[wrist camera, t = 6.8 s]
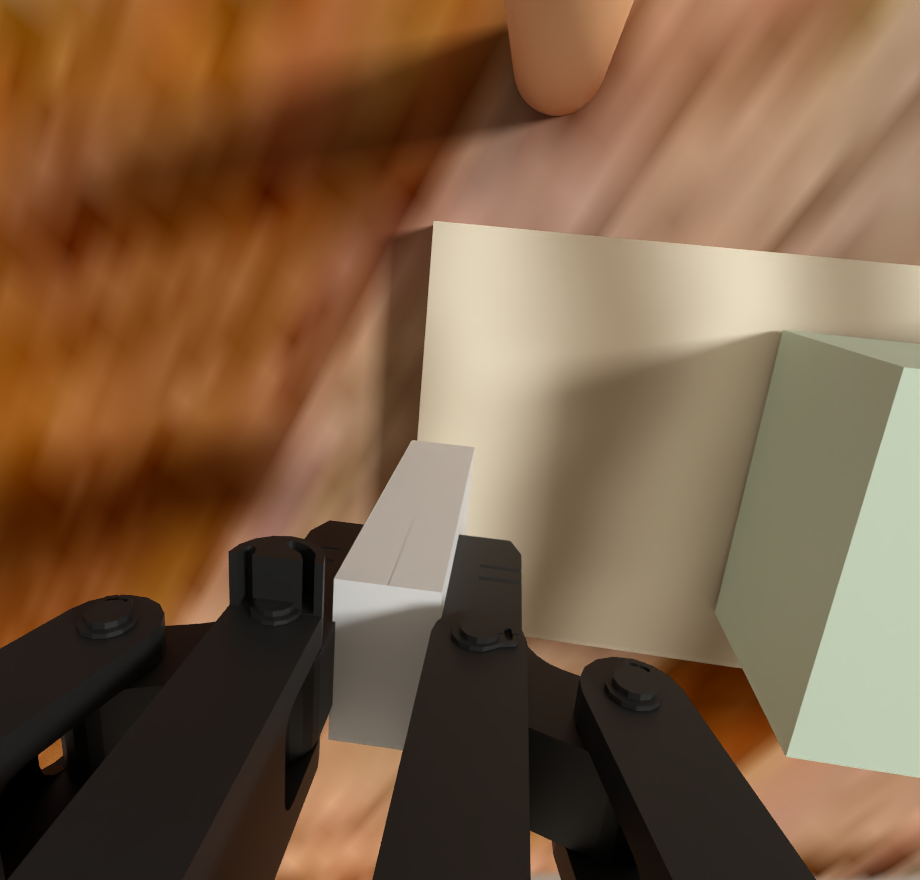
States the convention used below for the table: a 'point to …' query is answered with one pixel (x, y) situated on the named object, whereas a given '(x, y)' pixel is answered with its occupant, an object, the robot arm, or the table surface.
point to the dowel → (563, 49)
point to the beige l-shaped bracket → (624, 410)
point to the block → (833, 554)
